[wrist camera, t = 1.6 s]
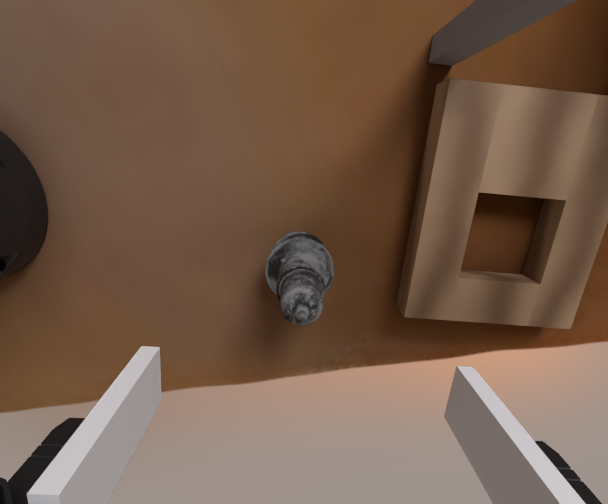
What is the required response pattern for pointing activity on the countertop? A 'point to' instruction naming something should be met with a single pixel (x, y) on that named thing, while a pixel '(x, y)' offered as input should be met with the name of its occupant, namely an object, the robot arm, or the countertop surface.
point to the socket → (508, 181)
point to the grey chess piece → (300, 276)
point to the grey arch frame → (487, 26)
